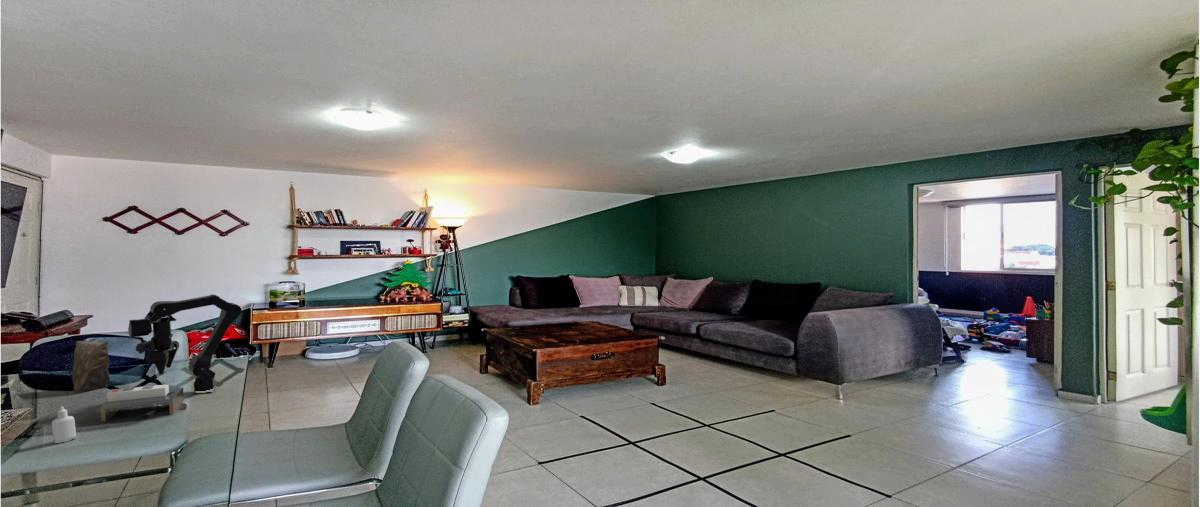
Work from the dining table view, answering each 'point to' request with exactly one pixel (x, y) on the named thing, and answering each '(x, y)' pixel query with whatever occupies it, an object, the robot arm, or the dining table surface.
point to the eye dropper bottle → (63, 426)
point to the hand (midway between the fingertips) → (164, 370)
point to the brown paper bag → (90, 366)
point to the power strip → (137, 393)
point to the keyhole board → (174, 403)
